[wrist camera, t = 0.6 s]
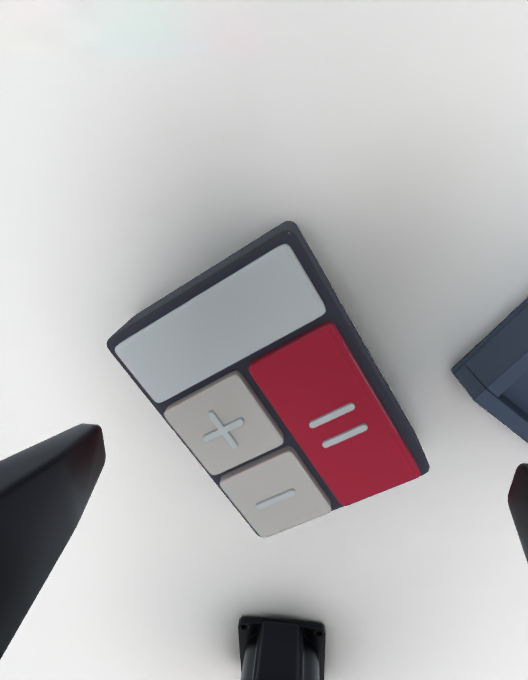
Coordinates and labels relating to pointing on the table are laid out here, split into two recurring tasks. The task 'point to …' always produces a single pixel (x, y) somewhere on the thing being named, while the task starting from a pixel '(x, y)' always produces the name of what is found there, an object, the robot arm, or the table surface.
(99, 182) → the table surface
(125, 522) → the table surface
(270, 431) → the calculator
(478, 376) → the tray
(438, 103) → the table surface
